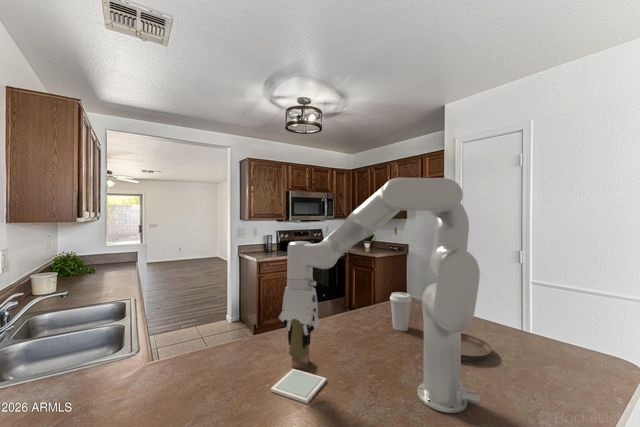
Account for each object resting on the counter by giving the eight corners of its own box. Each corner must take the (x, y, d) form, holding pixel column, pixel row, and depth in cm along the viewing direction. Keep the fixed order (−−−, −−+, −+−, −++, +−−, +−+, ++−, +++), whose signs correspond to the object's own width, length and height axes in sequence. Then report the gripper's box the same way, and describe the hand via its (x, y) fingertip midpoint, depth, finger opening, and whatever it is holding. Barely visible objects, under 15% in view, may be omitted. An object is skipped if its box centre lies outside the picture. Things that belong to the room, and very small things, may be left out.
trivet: (326, 380, 88) (326, 377, 88) (307, 403, 78) (307, 400, 78) (292, 371, 94) (292, 368, 94) (270, 391, 83) (270, 388, 83)
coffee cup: (414, 332, 125) (414, 297, 125) (392, 332, 125) (392, 297, 125) (408, 324, 134) (408, 291, 134) (387, 324, 134) (387, 291, 134)
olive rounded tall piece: (306, 358, 82) (306, 319, 82) (286, 355, 83) (286, 317, 83) (311, 348, 88) (311, 312, 88) (292, 346, 89) (292, 310, 89)
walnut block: (309, 361, 100) (309, 346, 100) (306, 368, 95) (306, 353, 95) (294, 360, 101) (295, 345, 101) (291, 367, 96) (292, 352, 96)
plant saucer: (450, 334, 123) (450, 327, 123) (502, 355, 106) (502, 345, 106) (418, 346, 112) (418, 338, 112) (471, 371, 95) (471, 361, 95)
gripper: (330, 283, 85) (329, 346, 85) (283, 277, 93) (282, 334, 93) (319, 289, 79) (318, 357, 79) (269, 282, 86) (268, 344, 86)
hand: (299, 344), depth 86 cm, fingers closed on olive rounded tall piece, 4 cm apart
